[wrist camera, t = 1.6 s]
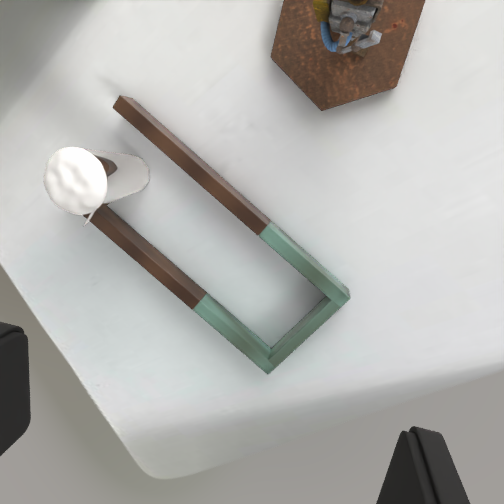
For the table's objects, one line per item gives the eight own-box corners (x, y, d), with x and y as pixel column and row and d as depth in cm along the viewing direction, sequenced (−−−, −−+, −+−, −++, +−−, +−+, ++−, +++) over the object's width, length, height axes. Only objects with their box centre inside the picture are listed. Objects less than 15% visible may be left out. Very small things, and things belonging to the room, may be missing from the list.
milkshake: (134, 216, 34) (61, 242, 25) (99, 165, 33) (10, 173, 24) (172, 189, 33) (109, 206, 23) (136, 136, 32) (57, 131, 23)
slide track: (73, 191, 35) (58, 194, 33) (132, 98, 31) (119, 94, 29) (271, 362, 36) (267, 375, 34) (349, 289, 32) (350, 298, 30)
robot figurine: (380, 130, 28) (416, 119, 17) (262, 101, 29) (222, 71, 18) (436, -40, 25) (529, -195, 14) (301, -66, 26) (283, -231, 15)
